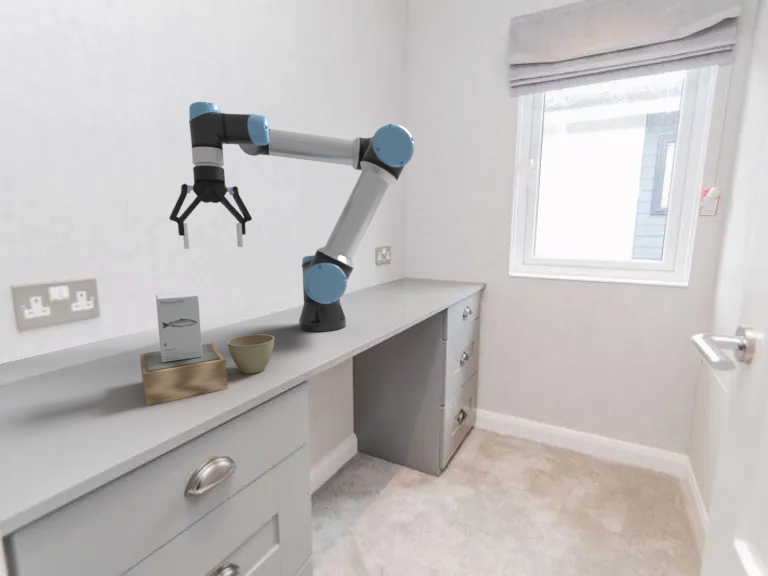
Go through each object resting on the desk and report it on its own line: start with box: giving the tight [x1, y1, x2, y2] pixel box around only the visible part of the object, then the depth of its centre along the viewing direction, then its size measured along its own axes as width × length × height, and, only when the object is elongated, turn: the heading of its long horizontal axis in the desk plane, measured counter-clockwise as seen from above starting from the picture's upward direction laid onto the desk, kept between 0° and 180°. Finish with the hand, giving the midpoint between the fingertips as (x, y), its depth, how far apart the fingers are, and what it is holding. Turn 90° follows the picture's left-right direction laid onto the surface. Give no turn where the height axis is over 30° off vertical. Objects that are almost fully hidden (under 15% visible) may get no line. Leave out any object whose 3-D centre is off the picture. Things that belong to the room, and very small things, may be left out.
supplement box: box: [155, 291, 203, 363], centre depth 81 cm, size 7×7×13 cm
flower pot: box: [226, 333, 275, 375], centre depth 91 cm, size 10×10×7 cm
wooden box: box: [139, 343, 229, 407], centre depth 82 cm, size 14×14×6 cm
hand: (214, 247), depth 109 cm, fingers open, 13 cm apart
